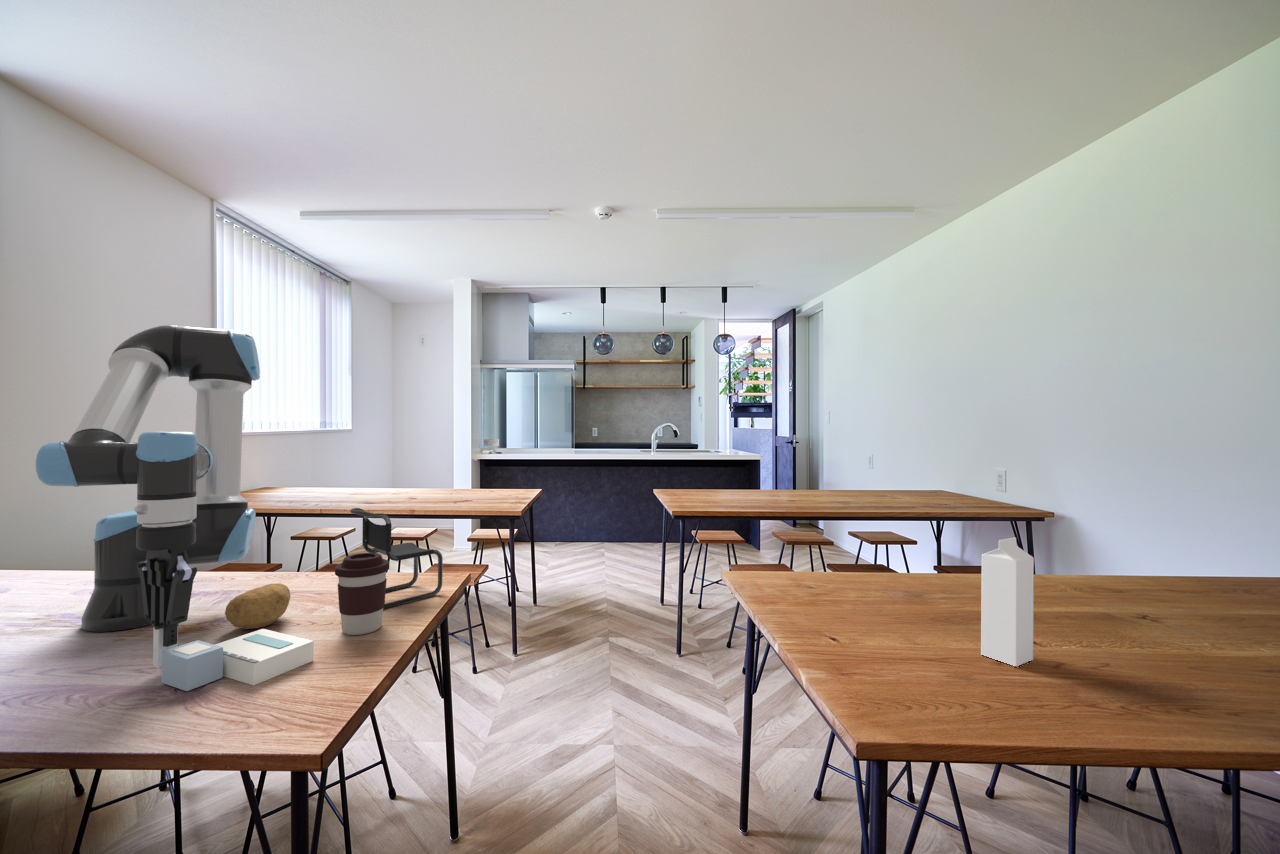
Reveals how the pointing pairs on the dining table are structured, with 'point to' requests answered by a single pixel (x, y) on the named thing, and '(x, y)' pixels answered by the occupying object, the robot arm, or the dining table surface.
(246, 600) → the potato
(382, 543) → the chair
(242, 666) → the white device
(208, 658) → the light blue box
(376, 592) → the coffee cup
